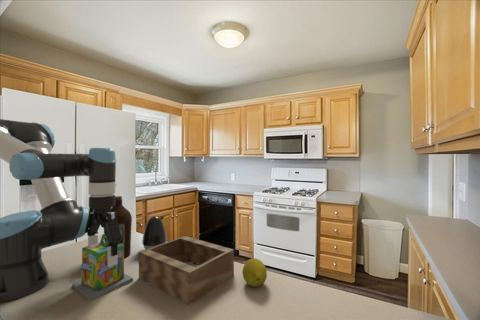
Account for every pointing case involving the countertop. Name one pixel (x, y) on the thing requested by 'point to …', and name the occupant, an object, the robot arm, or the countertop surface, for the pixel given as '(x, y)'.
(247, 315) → the countertop surface
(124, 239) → the olive oil
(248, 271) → the lemon
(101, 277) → the chalk box
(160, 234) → the pump dispenser
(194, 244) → the walnut box
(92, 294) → the slate mat
